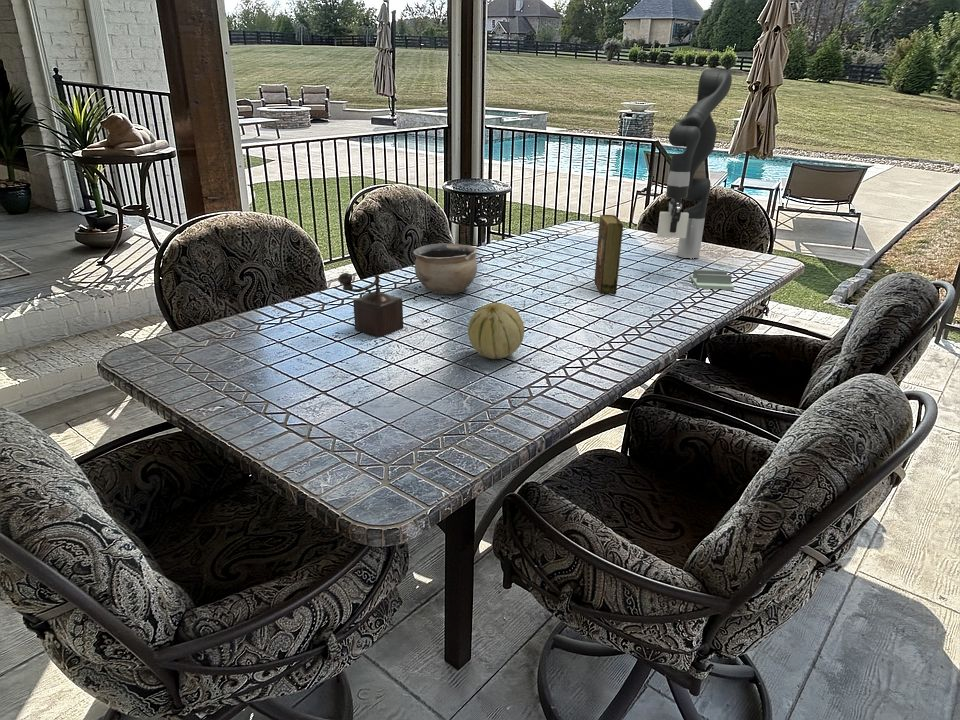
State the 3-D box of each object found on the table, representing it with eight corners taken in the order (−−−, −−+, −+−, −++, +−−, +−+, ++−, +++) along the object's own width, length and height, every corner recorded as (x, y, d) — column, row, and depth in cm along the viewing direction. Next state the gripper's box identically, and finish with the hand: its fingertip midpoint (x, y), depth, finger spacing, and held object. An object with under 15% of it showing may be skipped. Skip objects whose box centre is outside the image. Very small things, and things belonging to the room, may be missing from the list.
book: (593, 282, 237) (599, 214, 228) (608, 282, 237) (614, 214, 228) (600, 295, 222) (607, 223, 213) (616, 295, 222) (623, 223, 212)
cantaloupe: (520, 346, 176) (522, 294, 171) (525, 367, 163) (528, 311, 157) (467, 346, 176) (467, 293, 170) (467, 367, 162) (468, 311, 157)
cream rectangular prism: (657, 235, 242) (660, 211, 238) (684, 236, 241) (687, 212, 237) (658, 237, 239) (661, 213, 236) (685, 238, 238) (688, 213, 235)
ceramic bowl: (469, 303, 212) (469, 258, 206) (406, 298, 216) (404, 254, 210) (482, 285, 232) (482, 244, 226) (424, 280, 236) (423, 240, 230)
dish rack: (689, 278, 244) (690, 267, 243) (723, 280, 243) (725, 268, 241) (696, 288, 231) (698, 276, 230) (733, 290, 230) (735, 278, 229)
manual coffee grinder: (377, 320, 194) (374, 262, 187) (404, 328, 188) (402, 268, 181) (339, 334, 183) (334, 273, 176) (366, 343, 177) (362, 280, 170)
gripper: (664, 181, 239) (658, 227, 246) (670, 186, 226) (664, 234, 233) (685, 181, 238) (678, 227, 245) (692, 187, 226) (685, 235, 232)
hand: (671, 231), depth 239 cm, fingers closed on cream rectangular prism, 3 cm apart
